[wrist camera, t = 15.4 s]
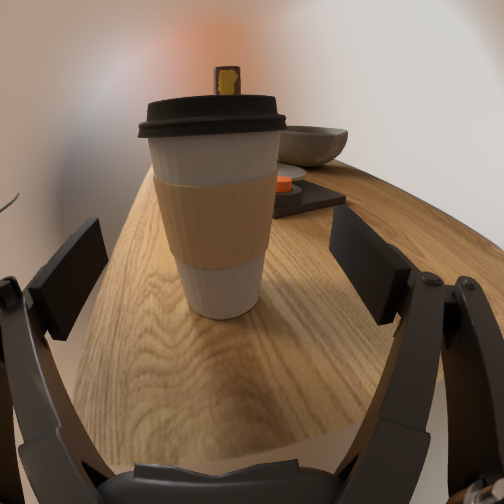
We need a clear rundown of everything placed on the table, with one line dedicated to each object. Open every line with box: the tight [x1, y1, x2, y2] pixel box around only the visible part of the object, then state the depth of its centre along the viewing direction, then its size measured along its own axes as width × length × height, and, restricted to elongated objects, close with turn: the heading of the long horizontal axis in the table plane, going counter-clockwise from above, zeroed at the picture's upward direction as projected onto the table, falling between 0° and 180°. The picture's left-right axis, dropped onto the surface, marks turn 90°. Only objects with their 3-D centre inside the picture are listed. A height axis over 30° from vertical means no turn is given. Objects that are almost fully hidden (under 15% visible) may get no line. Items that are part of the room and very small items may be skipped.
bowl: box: [278, 126, 348, 167], centre depth 65 cm, size 20×20×10 cm
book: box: [214, 66, 241, 95], centre depth 70 cm, size 22×8×25 cm, turn 7°
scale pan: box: [277, 164, 307, 182], centre depth 47 cm, size 12×12×1 cm
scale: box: [272, 179, 346, 219], centre depth 46 cm, size 18×14×3 cm
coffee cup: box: [138, 95, 288, 320], centre depth 19 cm, size 9×9×15 cm
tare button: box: [276, 176, 292, 192], centre depth 39 cm, size 3×3×2 cm
